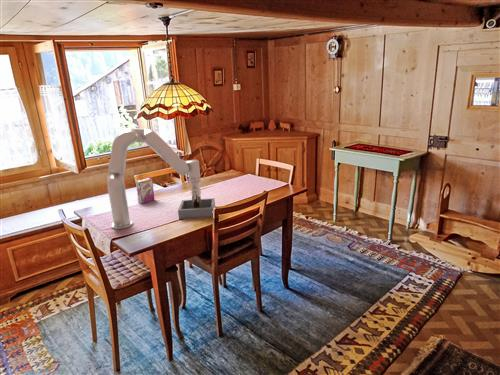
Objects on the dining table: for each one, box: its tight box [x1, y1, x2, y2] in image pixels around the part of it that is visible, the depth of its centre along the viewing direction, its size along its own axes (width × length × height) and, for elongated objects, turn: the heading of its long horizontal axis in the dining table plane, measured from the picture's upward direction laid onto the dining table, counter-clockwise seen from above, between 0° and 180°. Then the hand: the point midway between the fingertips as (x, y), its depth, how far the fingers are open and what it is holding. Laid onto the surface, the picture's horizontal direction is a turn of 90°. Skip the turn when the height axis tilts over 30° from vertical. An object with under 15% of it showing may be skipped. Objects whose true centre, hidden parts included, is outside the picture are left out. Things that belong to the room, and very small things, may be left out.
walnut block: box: [191, 195, 202, 209], centre depth 235 cm, size 5×5×9 cm
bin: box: [177, 198, 216, 220], centre depth 236 cm, size 20×22×6 cm
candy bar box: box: [135, 177, 155, 205], centre depth 263 cm, size 11×5×16 cm, turn 141°
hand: (197, 205), depth 235 cm, fingers closed on walnut block, 5 cm apart
